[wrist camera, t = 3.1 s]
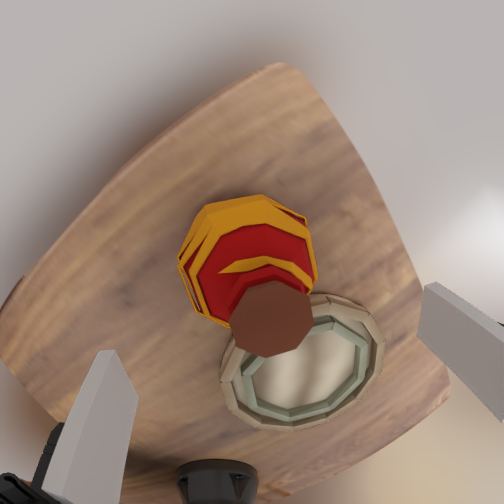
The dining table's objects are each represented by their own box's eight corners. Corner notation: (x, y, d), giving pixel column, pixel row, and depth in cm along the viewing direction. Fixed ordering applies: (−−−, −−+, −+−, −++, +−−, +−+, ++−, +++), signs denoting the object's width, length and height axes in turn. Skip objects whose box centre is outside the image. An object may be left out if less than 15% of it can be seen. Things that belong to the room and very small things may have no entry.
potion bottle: (301, 194, 26) (392, 227, 12) (283, 294, 29) (338, 394, 15) (190, 180, 25) (160, 196, 11) (181, 285, 28) (158, 393, 13)
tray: (237, 427, 35) (239, 442, 32) (203, 313, 29) (203, 327, 26) (367, 393, 36) (374, 405, 34) (378, 276, 30) (391, 285, 28)
